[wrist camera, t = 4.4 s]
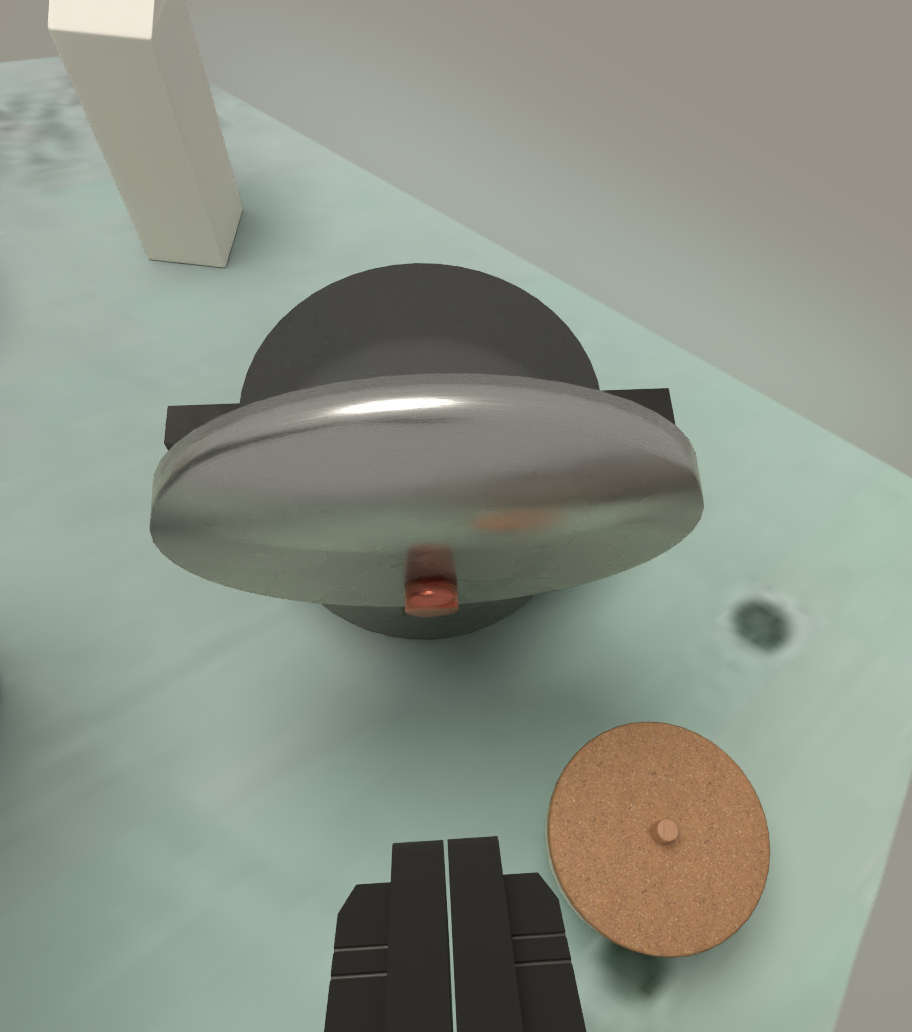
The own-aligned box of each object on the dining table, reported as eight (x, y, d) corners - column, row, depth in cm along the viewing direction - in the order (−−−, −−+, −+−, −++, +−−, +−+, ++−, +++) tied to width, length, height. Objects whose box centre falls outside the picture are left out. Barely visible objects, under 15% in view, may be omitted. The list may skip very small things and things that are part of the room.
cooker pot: (660, 646, 53) (712, 585, 44) (197, 669, 52) (140, 611, 42) (615, 362, 62) (649, 256, 52) (218, 375, 61) (175, 270, 51)
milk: (169, 202, 68) (56, -98, 48) (245, 210, 68) (163, -88, 48) (148, 261, 65) (20, -29, 45) (226, 270, 65) (133, -19, 45)
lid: (630, 565, 44) (637, 619, 43) (224, 583, 43) (222, 639, 42) (785, 361, 25) (804, 451, 24) (56, 386, 24) (44, 481, 23)
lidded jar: (724, 763, 51) (783, 732, 42) (720, 967, 46) (784, 978, 38) (543, 734, 51) (565, 698, 43) (521, 932, 47) (540, 936, 38)
